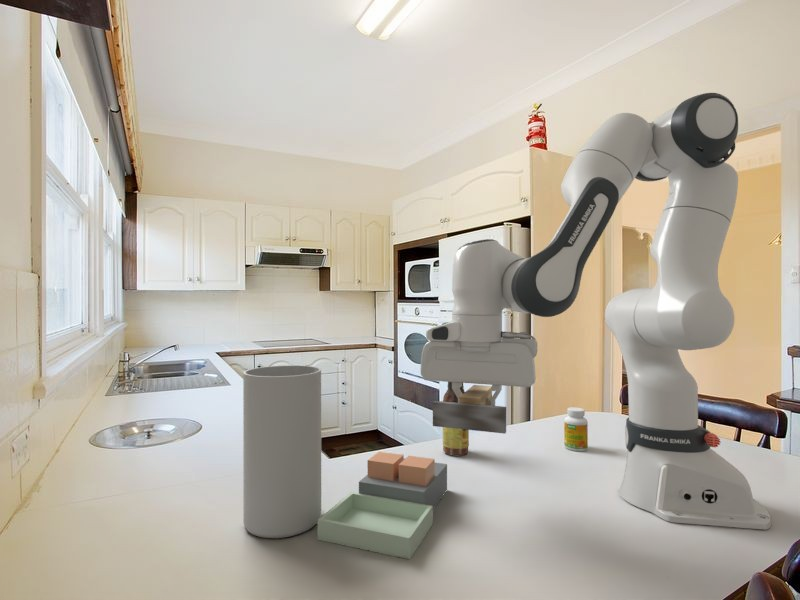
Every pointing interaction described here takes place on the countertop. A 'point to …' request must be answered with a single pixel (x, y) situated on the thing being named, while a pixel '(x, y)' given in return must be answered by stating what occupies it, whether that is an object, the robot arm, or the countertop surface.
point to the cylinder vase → (281, 450)
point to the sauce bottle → (454, 430)
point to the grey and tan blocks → (471, 412)
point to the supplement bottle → (576, 430)
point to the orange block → (384, 466)
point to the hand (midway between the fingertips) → (476, 408)
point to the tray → (376, 524)
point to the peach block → (416, 470)
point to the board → (408, 488)
